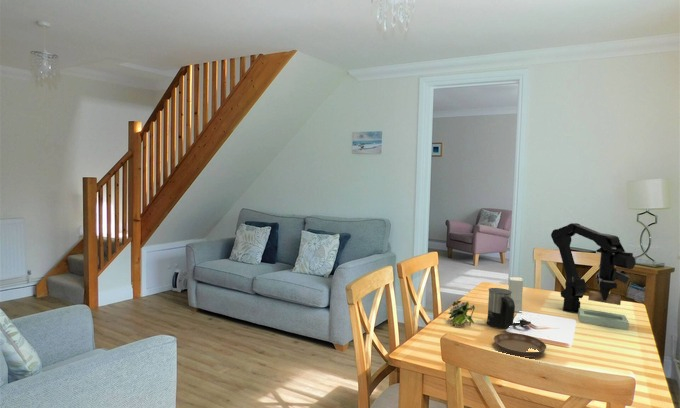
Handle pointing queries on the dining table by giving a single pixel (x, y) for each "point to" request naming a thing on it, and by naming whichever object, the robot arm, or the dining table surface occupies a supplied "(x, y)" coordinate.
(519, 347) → the plant saucer
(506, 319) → the milk frother
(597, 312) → the sage cradle
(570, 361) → the dining table surface
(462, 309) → the green leafy plant
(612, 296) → the walnut peg
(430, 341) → the dining table surface
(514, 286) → the skincare box
